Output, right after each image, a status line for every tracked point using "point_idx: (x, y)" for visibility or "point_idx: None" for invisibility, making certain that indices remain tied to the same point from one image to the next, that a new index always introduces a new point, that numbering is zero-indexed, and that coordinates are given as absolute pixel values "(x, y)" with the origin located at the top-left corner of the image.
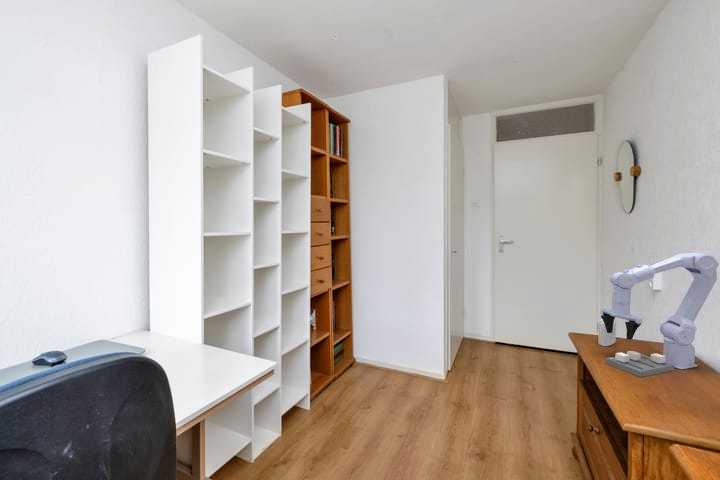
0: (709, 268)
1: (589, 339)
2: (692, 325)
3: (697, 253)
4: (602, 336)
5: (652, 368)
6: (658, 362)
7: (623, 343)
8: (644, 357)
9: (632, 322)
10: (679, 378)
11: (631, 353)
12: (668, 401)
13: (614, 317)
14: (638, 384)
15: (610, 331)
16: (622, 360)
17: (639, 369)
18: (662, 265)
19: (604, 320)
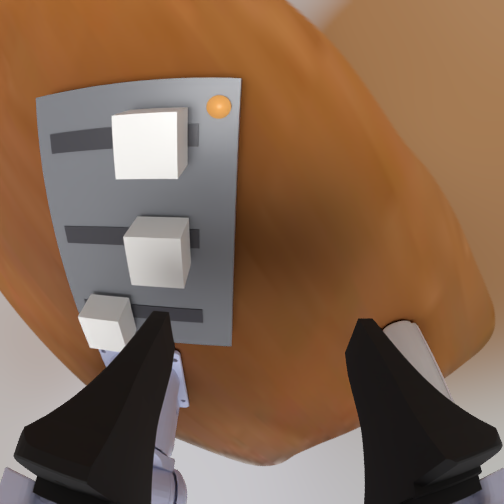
0: None
1: (451, 335)
2: None
3: None
4: (414, 356)
5: (54, 206)
6: (94, 296)
7: (352, 399)
8: (175, 316)
9: (65, 487)
10: (33, 255)
11: (148, 236)
12: None
13: (368, 501)
14: (18, 20)
15: (354, 351)
16: (134, 110)
17: (52, 121)
18: None
19: (444, 414)
